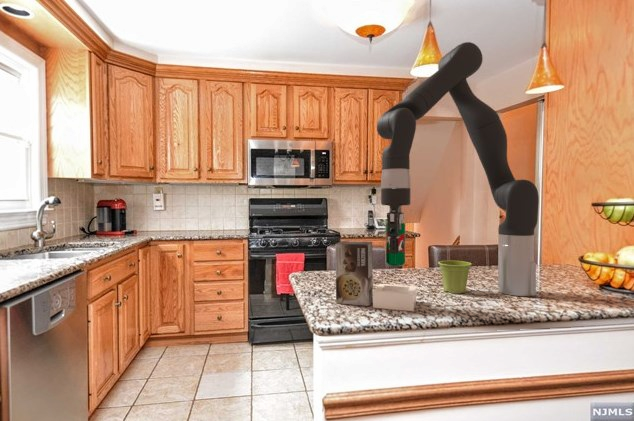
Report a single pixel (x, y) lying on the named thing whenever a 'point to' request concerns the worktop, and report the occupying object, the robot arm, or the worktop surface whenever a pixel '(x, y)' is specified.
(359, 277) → the coffee box
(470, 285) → the worktop surface
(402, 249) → the soda can
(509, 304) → the worktop surface
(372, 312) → the worktop surface
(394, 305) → the holder
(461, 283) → the plant pot
